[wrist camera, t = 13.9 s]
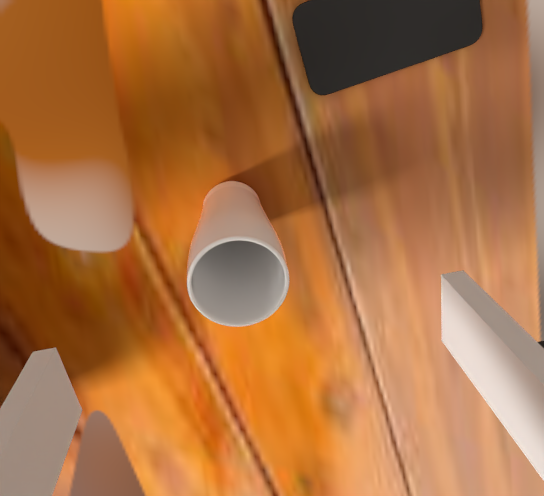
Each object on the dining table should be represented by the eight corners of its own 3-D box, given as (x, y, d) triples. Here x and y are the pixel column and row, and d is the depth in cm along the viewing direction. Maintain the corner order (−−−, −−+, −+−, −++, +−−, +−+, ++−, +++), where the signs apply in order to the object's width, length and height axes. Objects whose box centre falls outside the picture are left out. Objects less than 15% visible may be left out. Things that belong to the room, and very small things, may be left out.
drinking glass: (265, 242, 46) (285, 329, 33) (193, 239, 45) (184, 327, 32) (271, 173, 44) (296, 237, 30) (195, 168, 43) (186, 232, 29)
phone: (289, 6, 38) (473, -59, 37) (287, 7, 39) (468, -57, 38) (314, 99, 41) (484, 41, 40) (312, 98, 42) (479, 40, 41)
